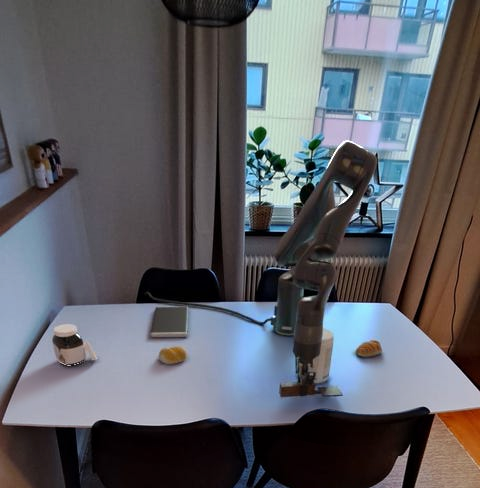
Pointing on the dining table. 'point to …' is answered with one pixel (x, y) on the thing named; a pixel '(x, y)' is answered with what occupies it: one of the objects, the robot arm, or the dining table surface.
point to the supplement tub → (324, 357)
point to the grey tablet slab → (170, 322)
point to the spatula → (294, 390)
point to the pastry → (369, 348)
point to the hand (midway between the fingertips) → (301, 392)
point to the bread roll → (172, 355)
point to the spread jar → (70, 346)
